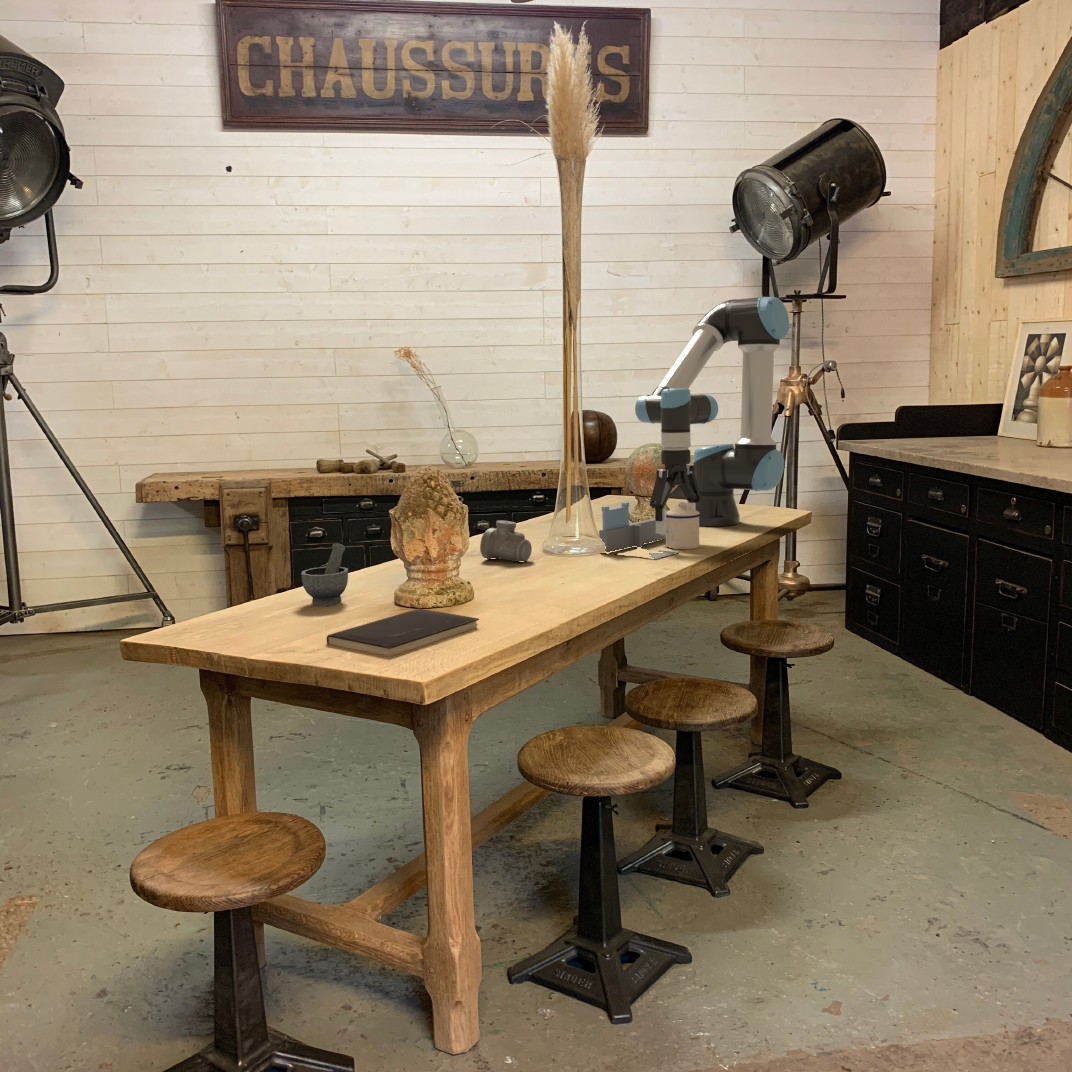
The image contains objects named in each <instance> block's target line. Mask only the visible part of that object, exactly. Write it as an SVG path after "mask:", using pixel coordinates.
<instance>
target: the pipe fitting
mask: <svg viewBox="0 0 1072 1072" xmlns="http://www.w3.org/2000/svg"><path fill="white" fill-rule="evenodd" d="M495 522H496V523H495V526H496V527H490V528H487V530H485V532H484V533H483V534H482V536H481V540H480V544H479V545H480V546H479V547H480V548H479V549H480V550H479V551H480V554H481V556H482V557H483V558H484V559H485V558H487V559H486V560H489V559H491V558H498V559H499V558H500V559H504V560H507V561H511V560H513V561H512V562H515V561H526V560H527V561H528V560H529V559H530V557H531V555H532V547H533V546H532V543H531V541H530V540H529V539H527V538H526V536H525V534H524V533H523V532H517V531H515V530H516V527H517V523H516V522H514V521H509V520H496V521H495ZM527 561H526V562H527Z"/></svg>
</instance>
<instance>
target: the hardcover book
mask: <svg viewBox="0 0 1072 1072" xmlns="http://www.w3.org/2000/svg"><path fill="white" fill-rule="evenodd" d="M479 620H480V619H479V618H478V617H472V616H465V615H461V614H460V615H459V614H454V613H447V612H441V611H436V610H428V609H423V608H416V609H413V610H409V611H406V612H402V613H399V614H395V615H391V616H389V617H385V618H382V619H378V620H375V621H371V622H369V623H363V624H361V625H357V626H354V627H351V628H347V629H344V630H340V631H337V632H333V633H330V634H328V635H326V645H332V646H337V647H343V648H348V649H352V650H353V649H354V650H356V651H357V650H358V651H363V652H368V653H372V654H377V655H381V656H386V657H392V656H394V655H397V654H400V653H404V652H407V651H409V650H413V649H416V648H419V647H422V646H426V645H427V644H430V643H434V642H436V641H440V640H444V639H446V638H450V637H452V636H455V635H458V634H461V633H464V632H468V631H470V630H473V629H477V626H478V623H477V622H478V621H479Z"/></svg>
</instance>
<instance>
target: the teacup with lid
mask: <svg viewBox="0 0 1072 1072" xmlns="http://www.w3.org/2000/svg"><path fill="white" fill-rule="evenodd" d="M677 505H678V506H675V507H673V508H672V509H670V510H666V534H660V535H662V536H664V537H666V540H665V547H666V546H667V547H669V548H668V549H670V548H673V549H672V550H679V549H685V550H693V549H698V548H699V547H700V526H699V516H700V514H699V512H698V511H696V510H693V509H692V508H690V507H688V506H686V502H685V501H684V502H683V501H682V502H678V504H677ZM667 547H666V548H667Z"/></svg>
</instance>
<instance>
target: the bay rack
mask: <svg viewBox="0 0 1072 1072" xmlns="http://www.w3.org/2000/svg"><path fill="white" fill-rule="evenodd" d="M598 535H599V536H598V538H599V537H600V538H601V539H602V541H603V542H604V543H605V546H606V549H605V551H606V552H610V551H615V550H619V549H624V548H627V547H632V546H637V547H641V546H644V545H643V544H644V543H649V542H652V541H657V540H661V539H666V537H664V536H662V535H660V534H657V533H656V520H655V517H652V518H650V519H649V518H648V519H645V520H640V521H635V522H629V525H628V526H623V527H619V528H615V529H610V530H606V531H605V530H603V529H599V530H598ZM658 550H659V551H658V552H663V553H649V555H651V556H650V557H652V558H654V559H657V558H660V557H664V558H666V557H665V556H668V557H670V556H669V555H672V556H674V555H673V554H675V555H678V554H677V553H680V552H679V551H671V550H661V549H658ZM657 560H658V559H657Z"/></svg>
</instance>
